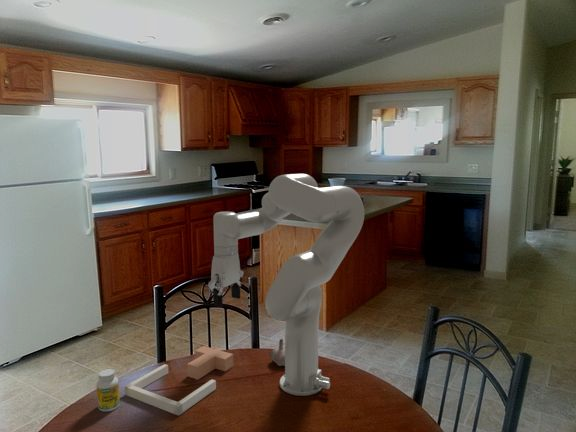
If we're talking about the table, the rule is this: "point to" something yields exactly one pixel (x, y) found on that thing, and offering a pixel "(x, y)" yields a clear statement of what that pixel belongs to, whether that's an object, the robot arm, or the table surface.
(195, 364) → the t block
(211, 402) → the table surface
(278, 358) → the garlic bulb
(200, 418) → the table surface
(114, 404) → the supplement bottle
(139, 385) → the frame
